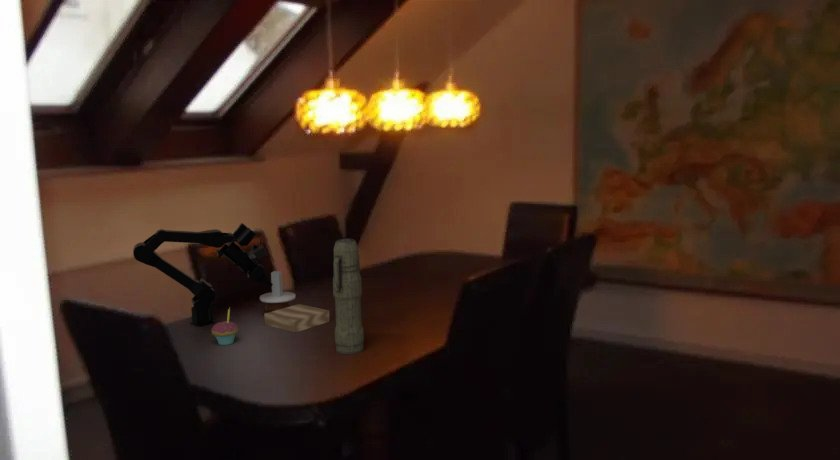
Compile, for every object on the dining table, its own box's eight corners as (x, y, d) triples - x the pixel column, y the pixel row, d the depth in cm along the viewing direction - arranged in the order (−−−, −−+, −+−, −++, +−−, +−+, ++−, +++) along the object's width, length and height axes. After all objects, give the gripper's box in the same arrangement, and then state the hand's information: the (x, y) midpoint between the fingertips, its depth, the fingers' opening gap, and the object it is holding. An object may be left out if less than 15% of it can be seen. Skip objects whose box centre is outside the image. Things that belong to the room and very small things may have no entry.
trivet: (295, 332, 252) (294, 321, 251) (264, 324, 262) (264, 313, 261) (329, 321, 264) (329, 310, 263) (299, 314, 274) (298, 303, 273)
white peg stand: (287, 303, 267) (286, 276, 265) (254, 302, 270) (252, 275, 268) (300, 294, 280) (299, 268, 278) (268, 293, 282) (266, 267, 280)
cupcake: (241, 338, 246) (239, 303, 244) (236, 346, 238) (233, 310, 236) (215, 339, 246) (213, 304, 244) (209, 347, 238) (206, 311, 236)
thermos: (370, 345, 236) (367, 237, 231) (353, 357, 226) (349, 243, 220) (346, 342, 240) (342, 235, 234) (328, 354, 229) (323, 242, 223)
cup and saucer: (286, 319, 269) (285, 303, 268) (256, 317, 272) (255, 301, 271) (300, 310, 280) (299, 294, 279) (271, 309, 283) (270, 293, 282)
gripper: (257, 243, 259) (289, 271, 265) (248, 235, 276) (278, 261, 282) (235, 267, 257) (268, 295, 263) (227, 257, 274) (259, 284, 280)
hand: (269, 283), depth 272 cm, fingers open, 9 cm apart
